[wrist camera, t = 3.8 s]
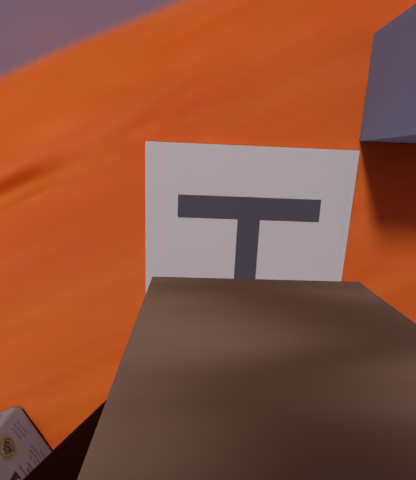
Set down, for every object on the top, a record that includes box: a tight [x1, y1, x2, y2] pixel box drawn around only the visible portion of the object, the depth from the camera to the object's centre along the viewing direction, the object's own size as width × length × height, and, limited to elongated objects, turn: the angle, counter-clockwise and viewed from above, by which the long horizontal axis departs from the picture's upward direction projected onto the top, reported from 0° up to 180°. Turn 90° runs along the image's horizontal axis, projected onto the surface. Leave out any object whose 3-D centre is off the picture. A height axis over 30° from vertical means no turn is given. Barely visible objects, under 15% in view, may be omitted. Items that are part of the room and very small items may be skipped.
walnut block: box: [77, 277, 416, 480], centre depth 6 cm, size 5×5×6 cm
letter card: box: [145, 141, 360, 293], centre depth 18 cm, size 11×12×1 cm
